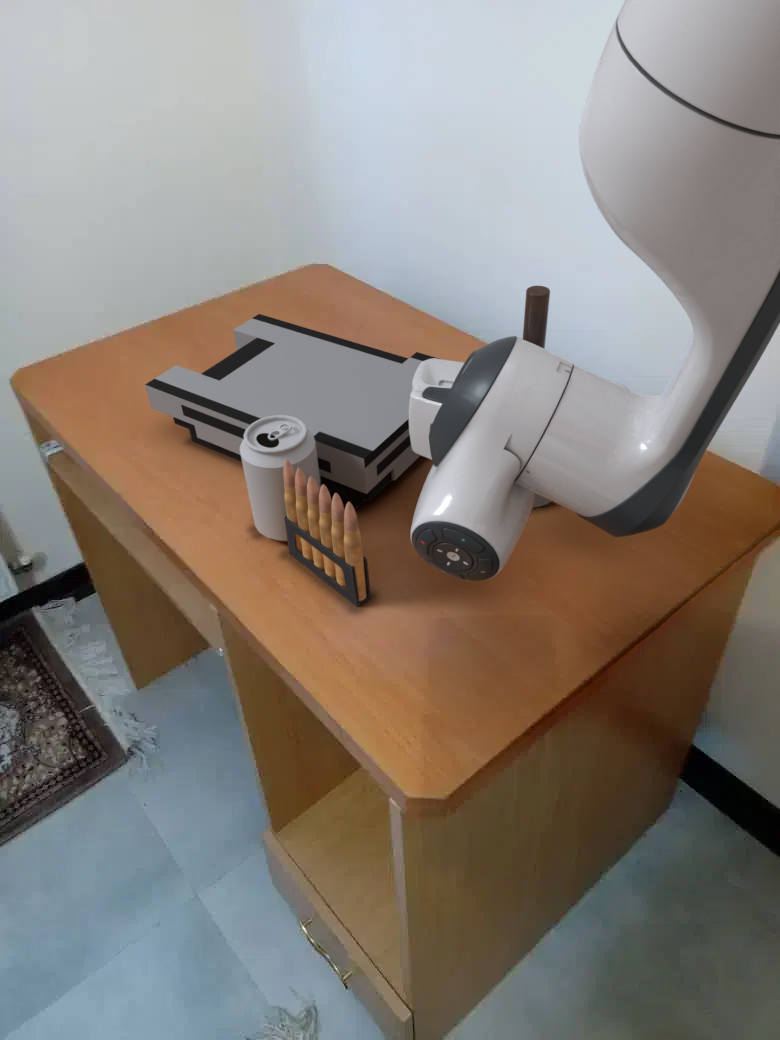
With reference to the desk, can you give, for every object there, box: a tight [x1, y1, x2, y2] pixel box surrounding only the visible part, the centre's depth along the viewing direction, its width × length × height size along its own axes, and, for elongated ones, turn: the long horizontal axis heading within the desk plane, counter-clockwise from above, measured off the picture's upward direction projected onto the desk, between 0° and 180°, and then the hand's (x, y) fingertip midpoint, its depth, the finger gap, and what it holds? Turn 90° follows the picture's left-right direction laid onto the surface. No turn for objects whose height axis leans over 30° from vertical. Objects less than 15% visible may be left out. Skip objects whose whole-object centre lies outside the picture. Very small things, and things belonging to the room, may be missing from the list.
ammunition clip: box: [283, 459, 372, 607], centre depth 75 cm, size 11×2×12 cm, turn 43°
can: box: [240, 415, 321, 542], centre depth 81 cm, size 8×8×12 cm
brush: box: [522, 285, 551, 349], centre depth 80 cm, size 3×3×18 cm
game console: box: [144, 313, 440, 509], centre depth 95 cm, size 21×32×8 cm, turn 56°
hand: (533, 361), depth 80 cm, fingers closed on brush, 2 cm apart
